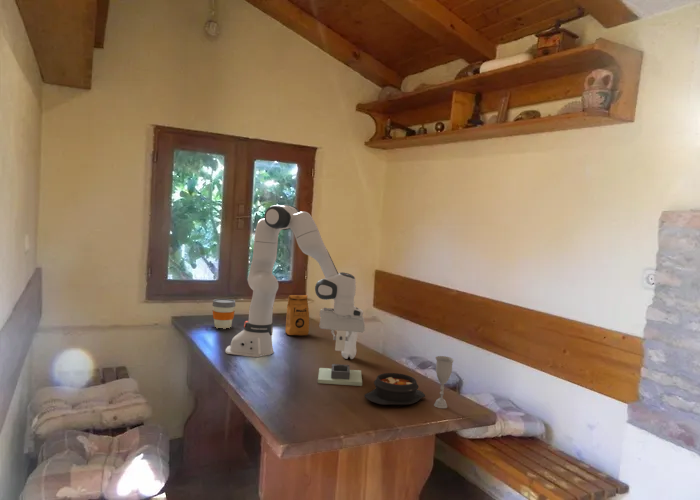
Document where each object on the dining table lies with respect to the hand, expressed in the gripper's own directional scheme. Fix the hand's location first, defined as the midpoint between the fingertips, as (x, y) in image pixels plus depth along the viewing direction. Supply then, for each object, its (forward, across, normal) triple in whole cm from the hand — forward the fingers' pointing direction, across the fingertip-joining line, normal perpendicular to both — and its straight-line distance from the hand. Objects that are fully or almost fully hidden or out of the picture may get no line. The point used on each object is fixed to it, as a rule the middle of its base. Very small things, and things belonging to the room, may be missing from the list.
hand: (340, 340), depth 241 cm
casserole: (+13, +22, -36) cm, 45 cm away
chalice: (+12, +39, -39) cm, 57 cm away
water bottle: (+12, +5, +18) cm, 22 cm away
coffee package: (+13, -24, +57) cm, 63 cm away
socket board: (+13, +1, -15) cm, 19 cm away
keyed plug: (+4, 0, 0) cm, 4 cm away
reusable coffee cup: (+14, -66, +63) cm, 92 cm away
